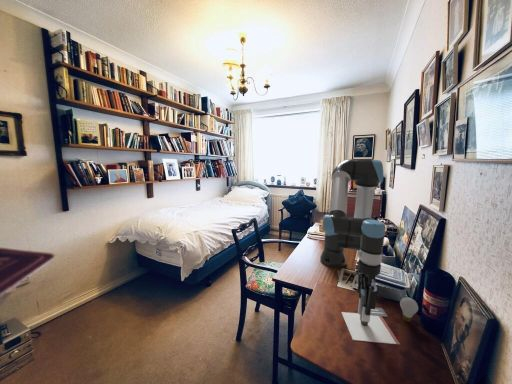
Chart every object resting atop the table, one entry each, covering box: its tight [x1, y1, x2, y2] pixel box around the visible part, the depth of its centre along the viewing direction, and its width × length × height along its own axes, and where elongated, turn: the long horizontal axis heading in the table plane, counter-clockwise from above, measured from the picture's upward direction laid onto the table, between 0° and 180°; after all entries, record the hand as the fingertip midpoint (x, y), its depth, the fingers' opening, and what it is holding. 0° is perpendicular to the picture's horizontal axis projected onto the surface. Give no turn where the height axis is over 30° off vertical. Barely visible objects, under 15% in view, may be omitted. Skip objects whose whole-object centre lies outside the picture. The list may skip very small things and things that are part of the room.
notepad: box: [341, 311, 401, 345], centre depth 83 cm, size 14×16×1 cm
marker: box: [360, 288, 369, 326], centre depth 83 cm, size 3×3×14 cm
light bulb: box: [399, 296, 419, 323], centre depth 86 cm, size 6×6×10 cm
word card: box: [370, 307, 389, 318], centre depth 91 cm, size 5×7×1 cm
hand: (363, 317), depth 84 cm, fingers closed on marker, 3 cm apart
